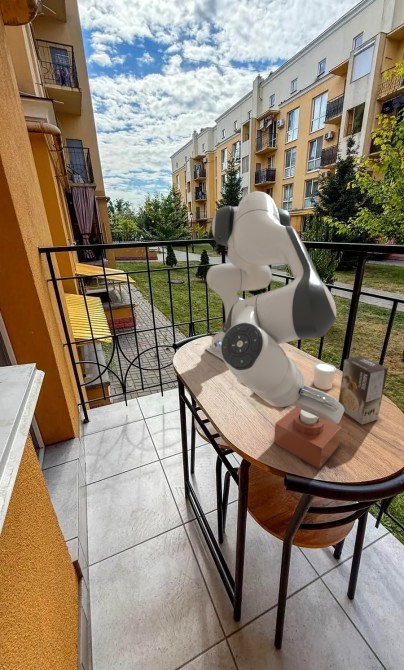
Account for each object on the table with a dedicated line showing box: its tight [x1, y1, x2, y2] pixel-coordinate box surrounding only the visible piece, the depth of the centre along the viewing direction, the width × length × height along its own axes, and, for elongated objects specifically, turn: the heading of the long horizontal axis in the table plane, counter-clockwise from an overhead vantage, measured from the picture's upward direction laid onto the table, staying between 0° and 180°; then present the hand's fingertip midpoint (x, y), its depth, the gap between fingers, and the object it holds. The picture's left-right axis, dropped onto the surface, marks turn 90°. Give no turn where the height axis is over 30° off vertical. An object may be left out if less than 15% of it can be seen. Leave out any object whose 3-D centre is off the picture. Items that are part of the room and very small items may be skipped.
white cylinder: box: [313, 362, 337, 391], centre depth 95 cm, size 7×7×7 cm
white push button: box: [300, 410, 318, 425], centre depth 68 cm, size 4×4×2 cm
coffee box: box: [338, 355, 389, 425], centre depth 79 cm, size 9×6×16 cm
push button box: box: [273, 406, 342, 470], centre depth 69 cm, size 12×10×8 cm
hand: (300, 403), depth 62 cm, fingers closed
